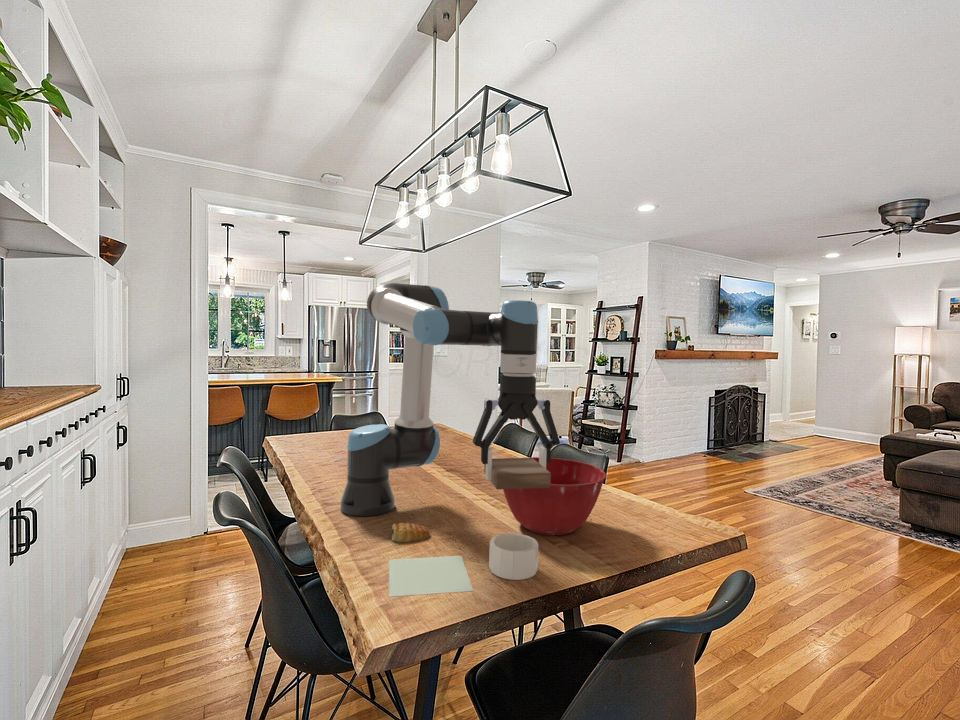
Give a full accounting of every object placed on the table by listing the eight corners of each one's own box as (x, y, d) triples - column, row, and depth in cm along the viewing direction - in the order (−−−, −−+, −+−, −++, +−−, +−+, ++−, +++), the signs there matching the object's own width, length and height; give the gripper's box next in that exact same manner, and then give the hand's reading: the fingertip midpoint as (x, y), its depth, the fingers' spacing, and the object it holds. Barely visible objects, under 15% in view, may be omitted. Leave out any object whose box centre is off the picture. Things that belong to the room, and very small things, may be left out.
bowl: (485, 561, 110) (486, 534, 109) (529, 558, 111) (530, 532, 111) (495, 583, 100) (495, 553, 100) (543, 580, 102) (543, 551, 101)
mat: (389, 561, 109) (389, 559, 109) (461, 556, 112) (461, 555, 112) (389, 598, 93) (389, 596, 93) (473, 592, 96) (473, 590, 96)
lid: (484, 472, 110) (484, 458, 110) (532, 471, 112) (532, 457, 112) (496, 489, 97) (497, 474, 97) (550, 487, 99) (550, 472, 99)
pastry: (427, 532, 126) (427, 517, 126) (431, 542, 120) (432, 527, 120) (389, 535, 124) (390, 520, 124) (392, 546, 117) (392, 530, 117)
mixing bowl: (580, 506, 149) (581, 455, 148) (623, 545, 120) (625, 482, 120) (487, 509, 144) (488, 456, 143) (509, 550, 116) (511, 485, 115)
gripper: (465, 375, 98) (463, 485, 99) (577, 376, 103) (574, 481, 103) (460, 373, 106) (458, 475, 106) (565, 374, 110) (562, 472, 111)
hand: (515, 478), depth 105 cm, fingers closed on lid, 11 cm apart
